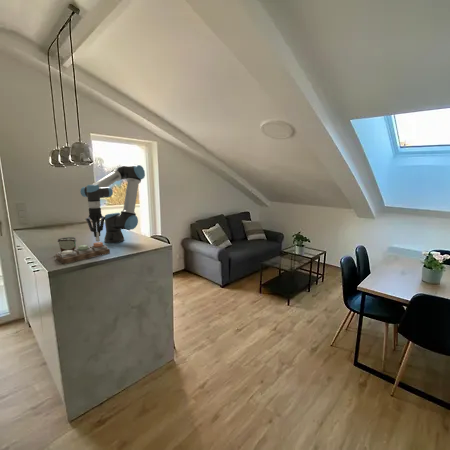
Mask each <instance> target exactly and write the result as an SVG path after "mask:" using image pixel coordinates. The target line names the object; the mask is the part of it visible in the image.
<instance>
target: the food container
mask: <svg viewBox="0 0 450 450" xmlns="http://www.w3.org/2000/svg"><path fill="white" fill-rule="evenodd" d="M76 242H77V239H76V237H75V236H71V237H69V236H68V237H61V238H58V239H57V243H58V245H59V250H60V252H62V251H66V250H73V251H74V249H77V248H76Z"/></svg>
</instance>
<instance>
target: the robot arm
mask: <svg viewBox="0 0 450 450" xmlns="http://www.w3.org/2000/svg"><path fill="white" fill-rule="evenodd" d="M145 176H146V173H145V170H144V167H143V165H141V164H124V165H120V166H118V167H115V168H114V169H112V170H111V171H110V173H108V174H107V175H105V176H103V177H102V178H100V179H98V180H96V181H95V182H94V183H92V184H87V185H86V186H82V187H81V188H80V190H79V191H80V195H81V196H82V197H83V198H87V205H88V206H87V207H88V217H86V218H85V221H86V222H87V225H88V228H89V230H90V232H91V233H93V236H94V238H95V242H101V241H100V240H101V239H100V237H101V232H102V231H103V230H104V227H105V235H104V238H103V239H104V243H107V244H115V243H121V242H123V240H124V241H125V237H124V234H123V232H122V230H127V231H128V230H135V229H136V227H137V226H138V224H139V218H138V217H137V213H136V212H135V209H136V202H137V196H138V192H139V191H138V190H139V189H138V188H139V184H141V181H142V180H143V179H145ZM122 180H126V182H127V183H126V192H125V196H124V203H123V210H121V211H120V212H114V213H113V212H112V213H106V214H105V215H103V214H102V208H101V207H102V206H101V199H105V198H106V199H107V198H111V197H112V196H113V194H114V193H113V189H112V187H109V186H111V185H113V184H114V183H116V182H119V181H122ZM104 224H105V226H104Z"/></svg>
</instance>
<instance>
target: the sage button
mask: <svg viewBox="0 0 450 450" xmlns="http://www.w3.org/2000/svg"><path fill="white" fill-rule="evenodd" d="M88 247H89V245H88V244H82V245H78V246H77V249H78V250H79V251H84V250H88Z"/></svg>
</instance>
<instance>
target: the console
mask: <svg viewBox="0 0 450 450" xmlns="http://www.w3.org/2000/svg"><path fill="white" fill-rule="evenodd" d="M110 250H111V249H110V248H109V247H108V246H107V245H105V244H103V247H98V248H94V246H93V245H90V246H88V250H84V251H79V250H78V248H76V249H74V251H73V250H72V253H69V254H64V255H63V254H62V252H61V251H58V252H57V254H55V259H56V260H57V261H59V262H60V263H62V264H64V265H65V264H68V263H73V262H77V261H83V260H87V259H91V258H94V257H99V256H103V255H108V254H109V255H110V253H111V251H110Z"/></svg>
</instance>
